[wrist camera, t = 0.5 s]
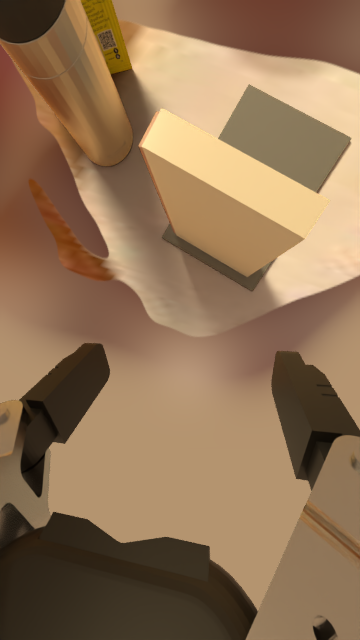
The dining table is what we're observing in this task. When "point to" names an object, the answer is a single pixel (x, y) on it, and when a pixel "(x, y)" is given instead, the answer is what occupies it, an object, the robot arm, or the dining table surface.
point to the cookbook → (225, 196)
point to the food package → (107, 34)
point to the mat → (274, 156)
